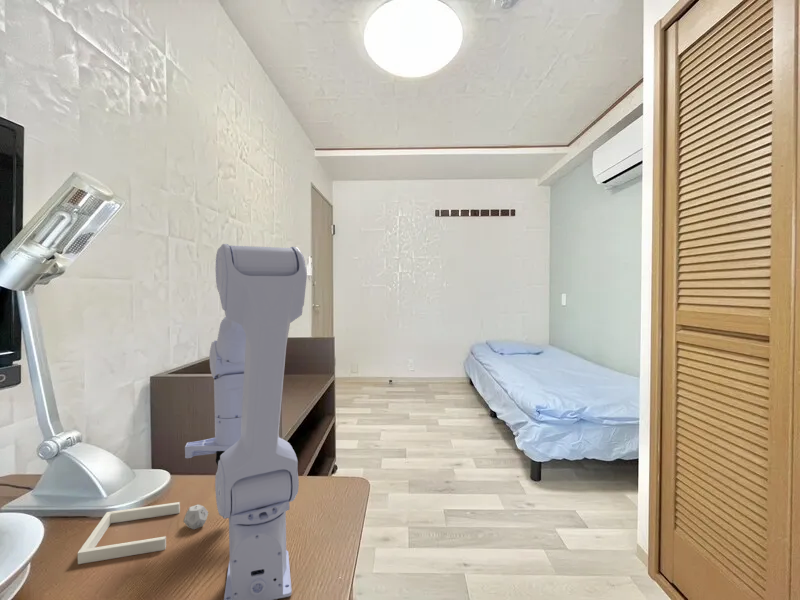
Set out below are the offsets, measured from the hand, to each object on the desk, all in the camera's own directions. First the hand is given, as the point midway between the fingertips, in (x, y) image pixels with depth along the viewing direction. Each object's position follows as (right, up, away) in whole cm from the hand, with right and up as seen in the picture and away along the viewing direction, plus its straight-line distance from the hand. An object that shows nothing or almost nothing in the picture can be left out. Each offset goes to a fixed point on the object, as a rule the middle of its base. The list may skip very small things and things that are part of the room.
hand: (234, 493), depth 73 cm
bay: (-14, -5, -4) cm, 15 cm away
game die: (-6, -5, -2) cm, 8 cm away
